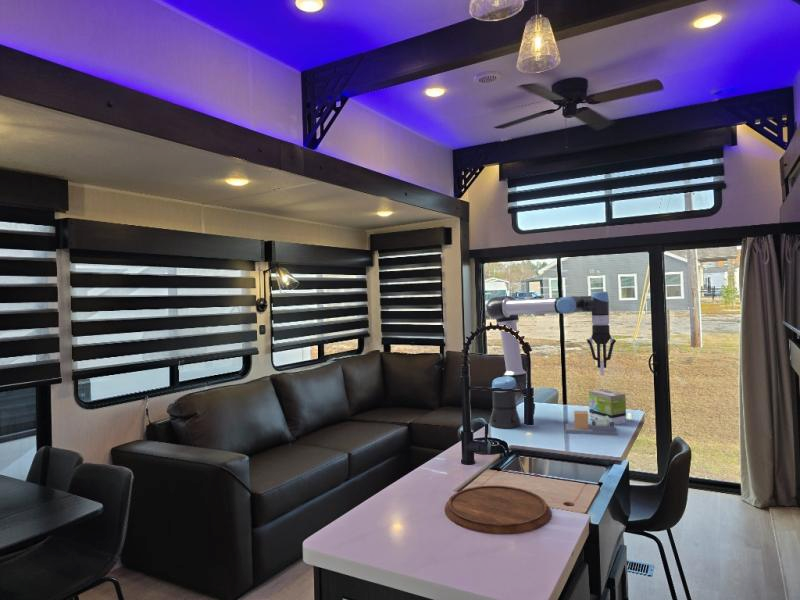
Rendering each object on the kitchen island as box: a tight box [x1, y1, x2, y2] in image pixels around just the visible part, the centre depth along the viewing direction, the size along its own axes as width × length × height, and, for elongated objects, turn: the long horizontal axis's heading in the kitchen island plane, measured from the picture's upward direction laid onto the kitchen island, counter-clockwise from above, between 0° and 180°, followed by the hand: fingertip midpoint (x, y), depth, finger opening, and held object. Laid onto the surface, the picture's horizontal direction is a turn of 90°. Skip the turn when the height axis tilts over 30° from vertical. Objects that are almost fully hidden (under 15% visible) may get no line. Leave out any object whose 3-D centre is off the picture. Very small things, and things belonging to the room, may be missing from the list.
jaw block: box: [573, 410, 589, 429], centre depth 246 cm, size 6×6×7 cm
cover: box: [594, 416, 610, 427], centre depth 244 cm, size 6×9×3 cm
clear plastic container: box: [565, 420, 618, 436], centre depth 245 cm, size 22×12×6 cm, turn 72°
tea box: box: [588, 388, 627, 426], centre depth 261 cm, size 15×10×15 cm, turn 25°
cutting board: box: [444, 485, 552, 535], centre depth 159 cm, size 32×32×3 cm
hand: (602, 374), depth 243 cm, fingers closed
